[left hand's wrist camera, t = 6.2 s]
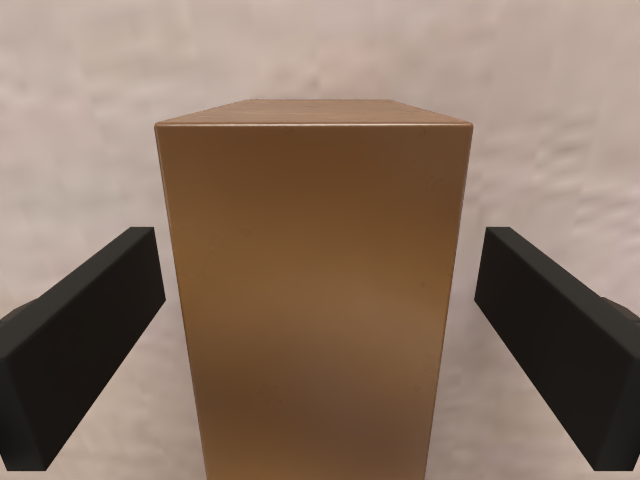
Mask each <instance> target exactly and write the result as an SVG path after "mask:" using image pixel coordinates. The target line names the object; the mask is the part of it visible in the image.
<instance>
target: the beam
mask: <svg viewBox="0 0 640 480" xmlns="http://www.w3.org/2000/svg"><path fill="white" fill-rule="evenodd" d="M154 130H155V136H156V143H157V150H158V156H159V163H160V170H161V176H162V183H163V189H164V196H165V203H166V209H167V216H168V223H169V229H170V236H171V243H172V249H173V256H174V263H175V269H176V276H177V283H178V289H179V296H180V303H181V309H182V316H183V322H184V329H185V336H186V342H187V349H188V356H189V362H190V369H191V376H192V382H193V389H194V396H195V402H196V409H197V416H198V422H199V429H200V435H201V442H202V449H203V455H204V462H205V469H206V475H207V480H424V478H425V471H426V464H427V457H428V450H429V443H430V435H431V428H432V421H433V414H434V407H435V399H436V392H437V385H438V378H439V371H440V363H441V356H442V349H443V342H444V335H445V327H446V320H447V313H448V306H449V299H450V291H451V284H452V277H453V270H454V263H455V255H456V248H457V241H458V234H459V227H460V219H461V212H462V205H463V198H464V191H465V184H466V176H467V169H468V162H469V155H470V148H471V140H472V133H473V124H472V123H470V122H467V121H463V120H459V119H456V118H452V117H449V116H445V115H441V114H438V113H434V112H431V111H427V110H423V109H420V108H416V107H413V106H409V105H405V104H402V103H398V102H395V101H391V100H243V101H239V102H235V103H232V104H228V105H224V106H220V107H216V108H212V109H208V110H204V111H200V112H196V113H192V114H188V115H184V116H181V117H177V118H173V119H169V120H165V121H161V122H158V123H155V126H154Z"/></svg>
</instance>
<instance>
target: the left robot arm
mask: <svg viewBox="0 0 640 480" xmlns="http://www.w3.org/2000/svg"><path fill="white" fill-rule="evenodd" d="M165 301H166V298H165V292H164V286H163V280H162V274H161V268H160V262H159V256H158V250H157V244H156V238H155V232H154V227H130V228H129V229H127V230H126V231H125V232H123V233H122V234H121V235H119V236H118V237H117V238H116V239H114V240H113V241H112V242H110V243H109V244H108V245H106V246H105V247H104V248H103V249H101V250H100V251H99V252H97V253H96V254H95V255H93V256H92V257H91V258H90V259H88V260H87V261H86V262H84V263H83V264H82V265H80V266H79V267H78V268H77V269H75V270H74V271H73V272H71V273H70V274H69V275H67V276H66V277H65V278H64V279H62V280H61V281H60V282H58V283H57V284H56V285H54V286H53V287H52V288H51V289H49V290H48V291H47V292H45V293H44V294H43V295H41V296H40V297H39V298H38V299H35V300H33V301H31V302H29V303H26V304H24V305H22V306H20V307H18V308H16V309H14V310H13V311H11V312H10V313H9V314H7V315H6V316H5V317H3V318H2V319H1V320H0V455H1V457H2V460H3V462H4V464H5V467H6V469H7V471H46V470H47V468H48V467H49V466H50V464H51V463H52V461H53V460H54V458H55V457H56V456H57V454H58V453H59V451H60V450H61V449H62V447H63V446H64V444H65V443H66V441H67V440H68V439H69V437H70V436H71V434H72V433H73V431H74V430H75V429H76V427H77V426H78V424H79V423H80V422H81V420H82V419H83V417H84V416H85V414H86V413H87V412H88V410H89V409H90V407H91V406H92V404H93V403H94V402H95V400H96V399H97V397H98V396H99V395H100V393H101V392H102V390H103V389H104V387H105V386H106V385H107V383H108V382H109V380H110V379H111V377H112V376H113V375H114V373H115V372H116V370H117V369H118V368H119V366H120V365H121V363H122V362H123V360H124V359H125V358H126V356H127V355H128V353H129V352H130V350H131V349H132V348H133V346H134V345H135V343H136V342H137V341H138V339H139V338H140V336H141V335H142V333H143V332H144V331H145V329H146V328H147V326H148V325H149V323H150V322H151V321H152V319H153V318H154V316H155V315H156V313H157V312H158V311H159V309H160V308H161V306H162V305H163V304H164V302H165ZM474 301H475V302H476V304H477V305H478V306H479V308H480V309H481V311H482V312H483V313H484V315H485V316H486V318H487V319H488V321H489V322H490V323H491V325H492V326H493V328H494V329H495V331H496V332H497V333H498V335H499V336H500V338H501V339H502V340H503V342H504V343H505V345H506V346H507V348H508V349H509V350H510V352H511V353H512V355H513V356H514V358H515V359H516V360H517V362H518V363H519V365H520V366H521V368H522V369H523V370H524V372H525V373H526V375H527V376H528V377H529V379H530V380H531V382H532V383H533V385H534V386H535V387H536V389H537V390H538V392H539V393H540V395H541V396H542V397H543V399H544V400H545V402H546V403H547V404H548V406H549V407H550V409H551V410H552V412H553V413H554V414H555V416H556V417H557V419H558V420H559V422H560V423H561V424H562V426H563V427H564V429H565V430H566V431H567V433H568V434H569V436H570V437H571V439H572V440H573V441H574V443H575V444H576V446H577V447H578V449H579V450H580V451H581V453H582V454H583V456H584V457H585V458H586V460H587V461H588V463H589V464H590V466H591V467H592V468H593V470H594V471H633V469H634V467H635V464H636V462H637V460H638V457H639V455H640V318H639V317H638V316H637V315H635V314H634V313H632V312H631V311H630V310H628V309H627V308H625V307H623V306H621V305H619V304H617V303H615V302H613V301H611V300H609V299H607V298H604V297H600V296H599V295H597V294H596V293H595V292H593V291H592V290H591V289H589V288H588V287H587V286H586V285H584V284H583V283H582V282H580V281H579V280H578V279H576V278H575V277H574V276H573V275H571V274H570V273H569V272H567V271H566V270H565V269H563V268H562V267H561V266H560V265H558V264H557V263H556V262H554V261H553V260H552V259H550V258H549V257H548V256H547V255H545V254H544V253H543V252H541V251H540V250H539V249H537V248H536V247H535V246H534V245H532V244H531V243H530V242H528V241H527V240H526V239H524V238H523V237H522V236H521V235H519V234H518V233H517V232H515V231H514V230H513V229H511V228H510V227H486V232H485V238H484V244H483V250H482V256H481V262H480V268H479V274H478V280H477V286H476V292H475V298H474Z"/></svg>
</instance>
